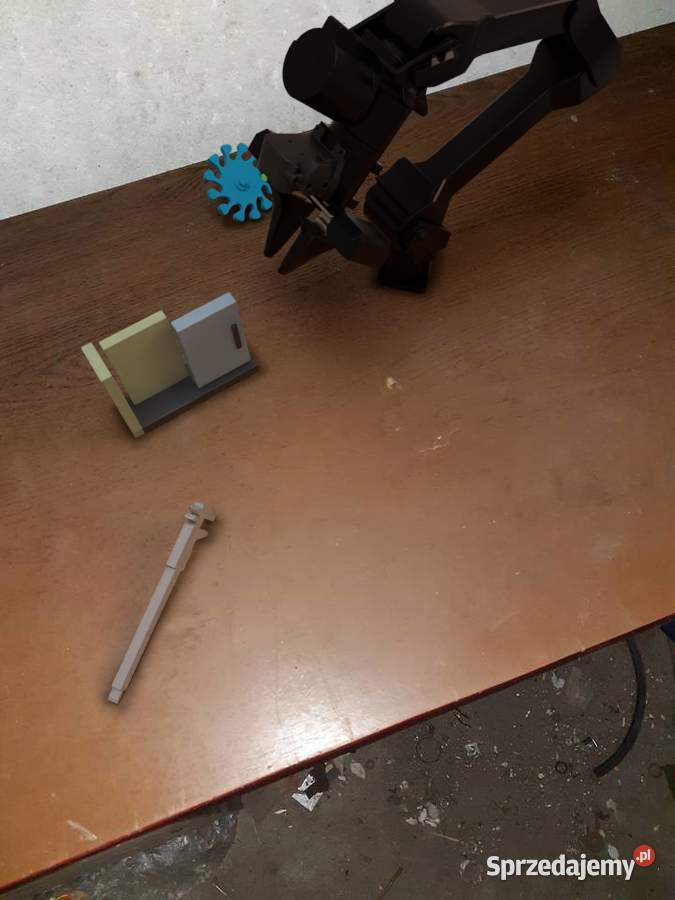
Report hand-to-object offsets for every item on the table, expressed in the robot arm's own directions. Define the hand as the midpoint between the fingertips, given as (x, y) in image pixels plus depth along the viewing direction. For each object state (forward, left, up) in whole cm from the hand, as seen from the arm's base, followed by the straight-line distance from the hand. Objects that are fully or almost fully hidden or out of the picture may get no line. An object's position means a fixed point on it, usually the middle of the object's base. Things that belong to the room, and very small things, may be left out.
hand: (273, 265), depth 74 cm
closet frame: (+8, +10, -13) cm, 18 cm away
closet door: (+5, +8, -11) cm, 14 cm away
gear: (+12, -20, -13) cm, 27 cm away
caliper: (+1, +35, -13) cm, 37 cm away
